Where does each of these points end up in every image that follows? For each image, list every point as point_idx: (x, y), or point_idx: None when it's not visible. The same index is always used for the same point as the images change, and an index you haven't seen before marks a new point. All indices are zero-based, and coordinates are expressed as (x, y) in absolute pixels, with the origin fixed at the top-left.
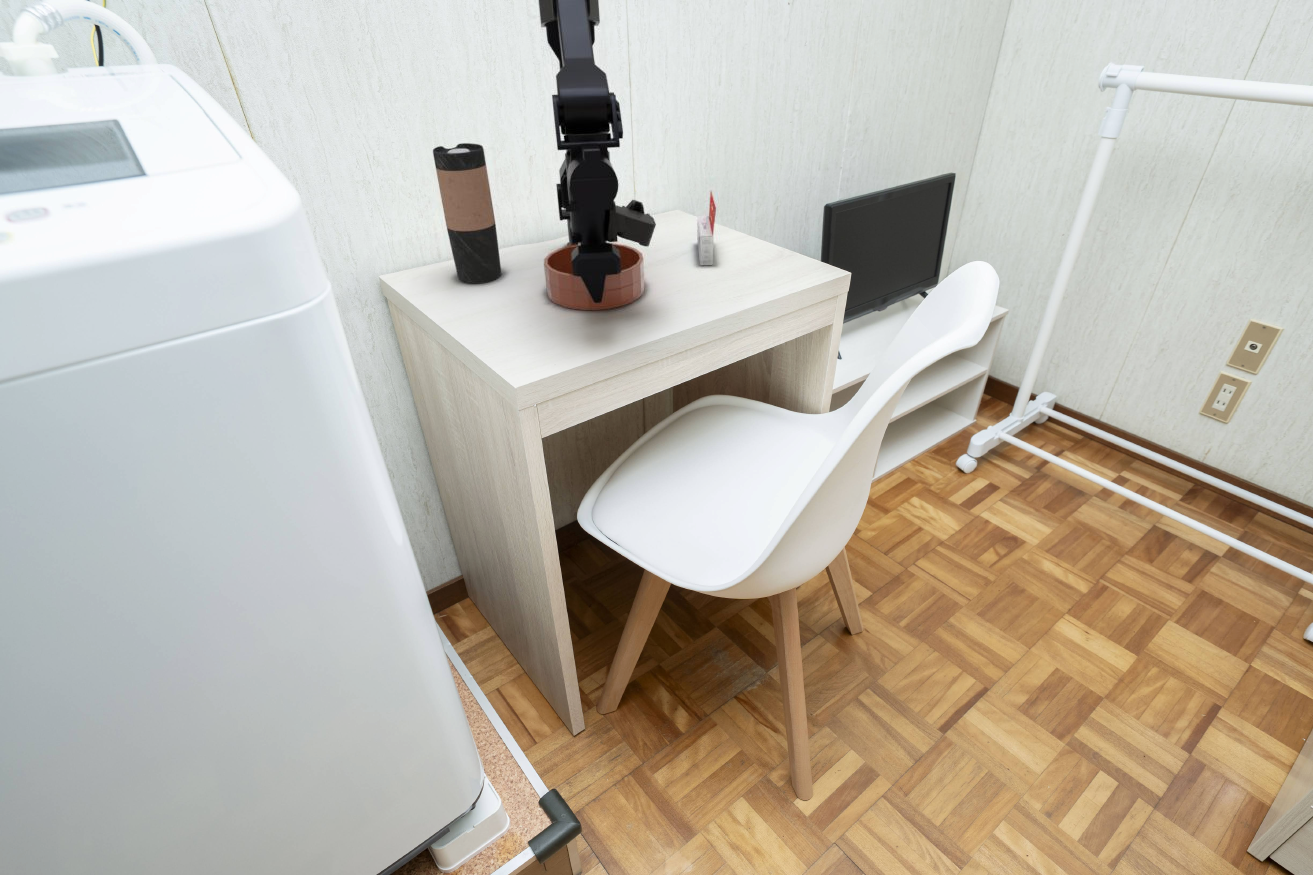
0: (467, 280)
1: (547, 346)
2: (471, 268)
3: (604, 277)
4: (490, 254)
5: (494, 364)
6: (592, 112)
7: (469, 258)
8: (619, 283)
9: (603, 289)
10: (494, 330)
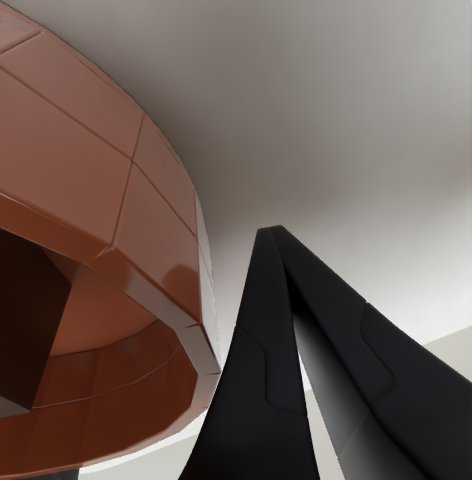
0: None
1: (434, 278)
2: (75, 469)
3: (410, 345)
4: None
5: (459, 328)
6: None
7: None
8: (130, 186)
9: (329, 269)
10: None
